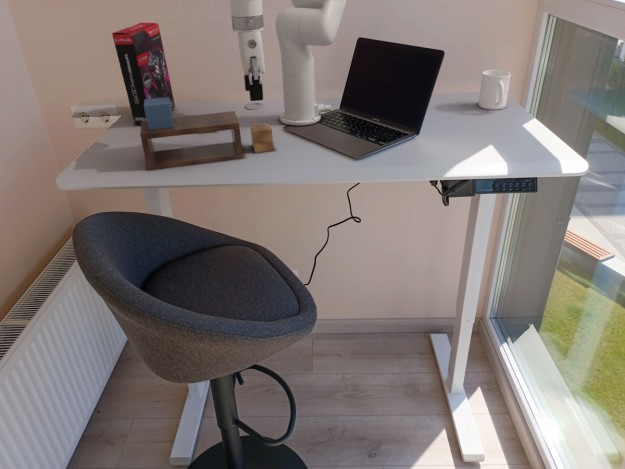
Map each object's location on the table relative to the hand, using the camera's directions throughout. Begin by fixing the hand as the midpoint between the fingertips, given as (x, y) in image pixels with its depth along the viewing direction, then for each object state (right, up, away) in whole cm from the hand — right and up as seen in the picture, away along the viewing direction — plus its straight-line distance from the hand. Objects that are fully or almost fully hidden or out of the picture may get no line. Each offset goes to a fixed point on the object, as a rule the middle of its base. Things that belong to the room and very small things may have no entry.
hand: (254, 95), depth 129 cm
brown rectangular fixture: (-16, -15, +4) cm, 22 cm away
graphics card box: (-36, +2, +34) cm, 49 cm away
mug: (+72, +4, +30) cm, 78 cm away
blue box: (-23, -8, -2) cm, 25 cm away
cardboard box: (+1, -12, +8) cm, 15 cm away
